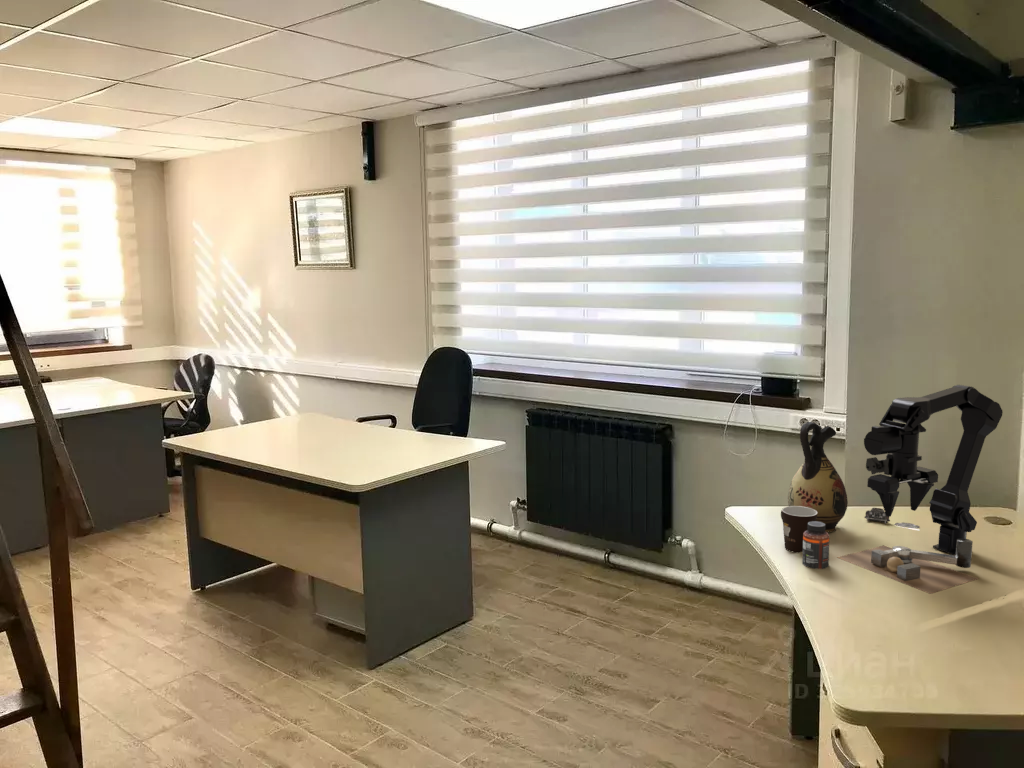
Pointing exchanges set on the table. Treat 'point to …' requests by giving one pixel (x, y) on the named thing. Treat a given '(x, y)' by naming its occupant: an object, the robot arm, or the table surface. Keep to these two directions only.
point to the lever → (927, 555)
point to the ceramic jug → (818, 479)
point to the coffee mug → (796, 525)
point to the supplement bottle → (815, 546)
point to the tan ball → (894, 563)
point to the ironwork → (908, 570)
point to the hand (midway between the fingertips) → (900, 513)
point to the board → (930, 573)
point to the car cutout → (885, 518)
